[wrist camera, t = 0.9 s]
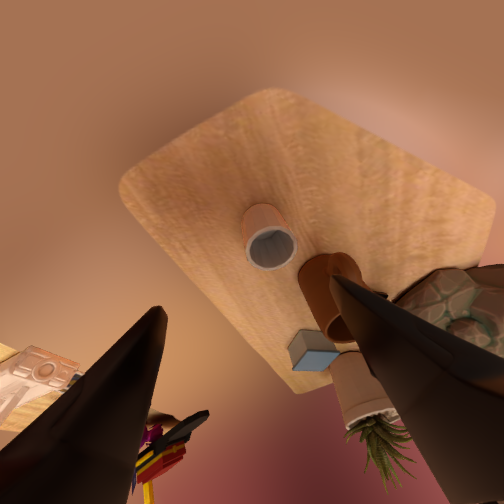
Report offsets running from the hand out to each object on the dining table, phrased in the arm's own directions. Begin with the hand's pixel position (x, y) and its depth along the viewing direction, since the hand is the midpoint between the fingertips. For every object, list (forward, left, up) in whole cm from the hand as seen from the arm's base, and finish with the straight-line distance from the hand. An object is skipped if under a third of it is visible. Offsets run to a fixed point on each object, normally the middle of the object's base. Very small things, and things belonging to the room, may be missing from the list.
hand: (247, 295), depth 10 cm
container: (+36, +46, -14) cm, 60 cm away
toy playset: (+3, +66, -11) cm, 67 cm away
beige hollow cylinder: (-3, +1, -14) cm, 14 cm away
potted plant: (-35, +32, -14) cm, 50 cm away
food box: (-21, +25, -14) cm, 36 cm away
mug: (-14, +5, -14) cm, 20 cm away
